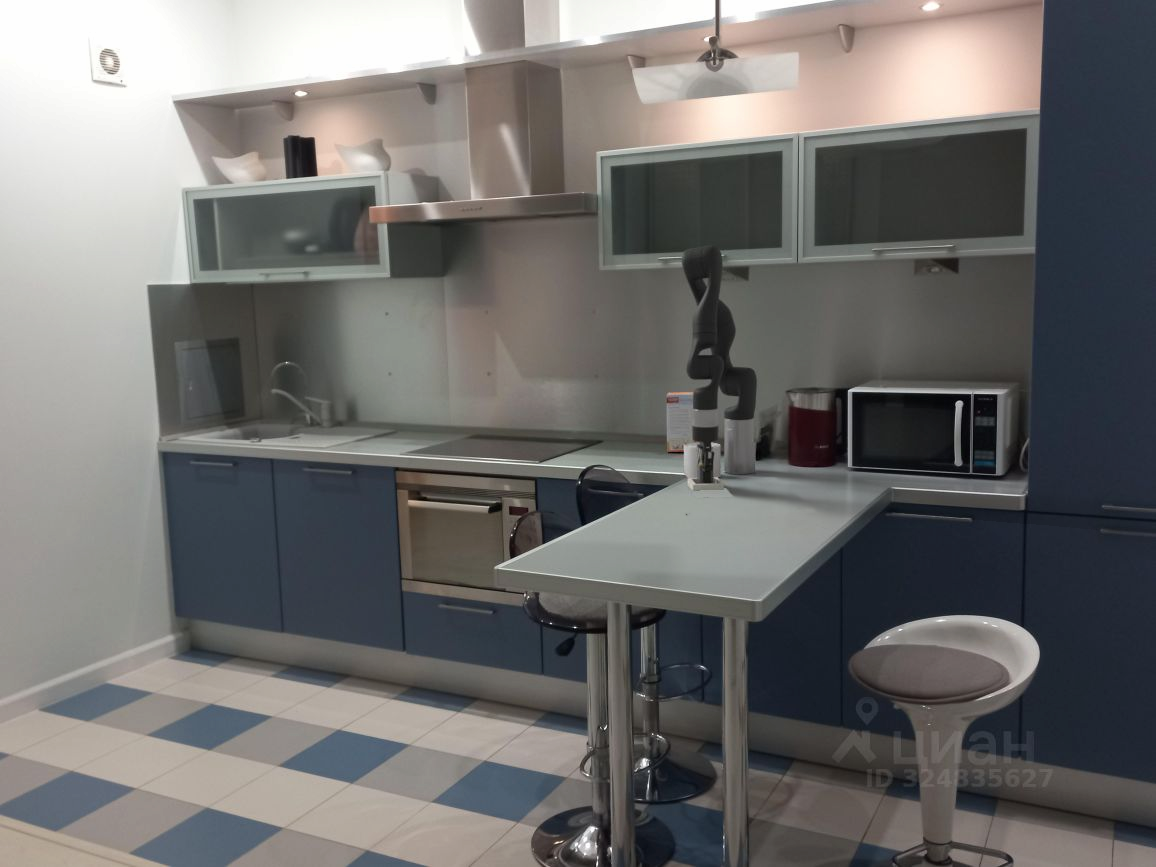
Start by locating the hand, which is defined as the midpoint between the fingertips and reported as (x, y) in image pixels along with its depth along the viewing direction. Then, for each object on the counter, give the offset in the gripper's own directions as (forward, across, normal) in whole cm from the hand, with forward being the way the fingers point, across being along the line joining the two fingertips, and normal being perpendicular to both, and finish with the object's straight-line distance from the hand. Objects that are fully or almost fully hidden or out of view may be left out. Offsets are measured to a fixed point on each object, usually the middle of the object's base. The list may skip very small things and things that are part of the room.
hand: (705, 481), depth 300 cm
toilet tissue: (+3, +20, -2) cm, 20 cm away
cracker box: (+3, +62, -6) cm, 62 cm away
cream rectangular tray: (+3, -4, 0) cm, 5 cm away
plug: (+1, 0, 0) cm, 1 cm away
